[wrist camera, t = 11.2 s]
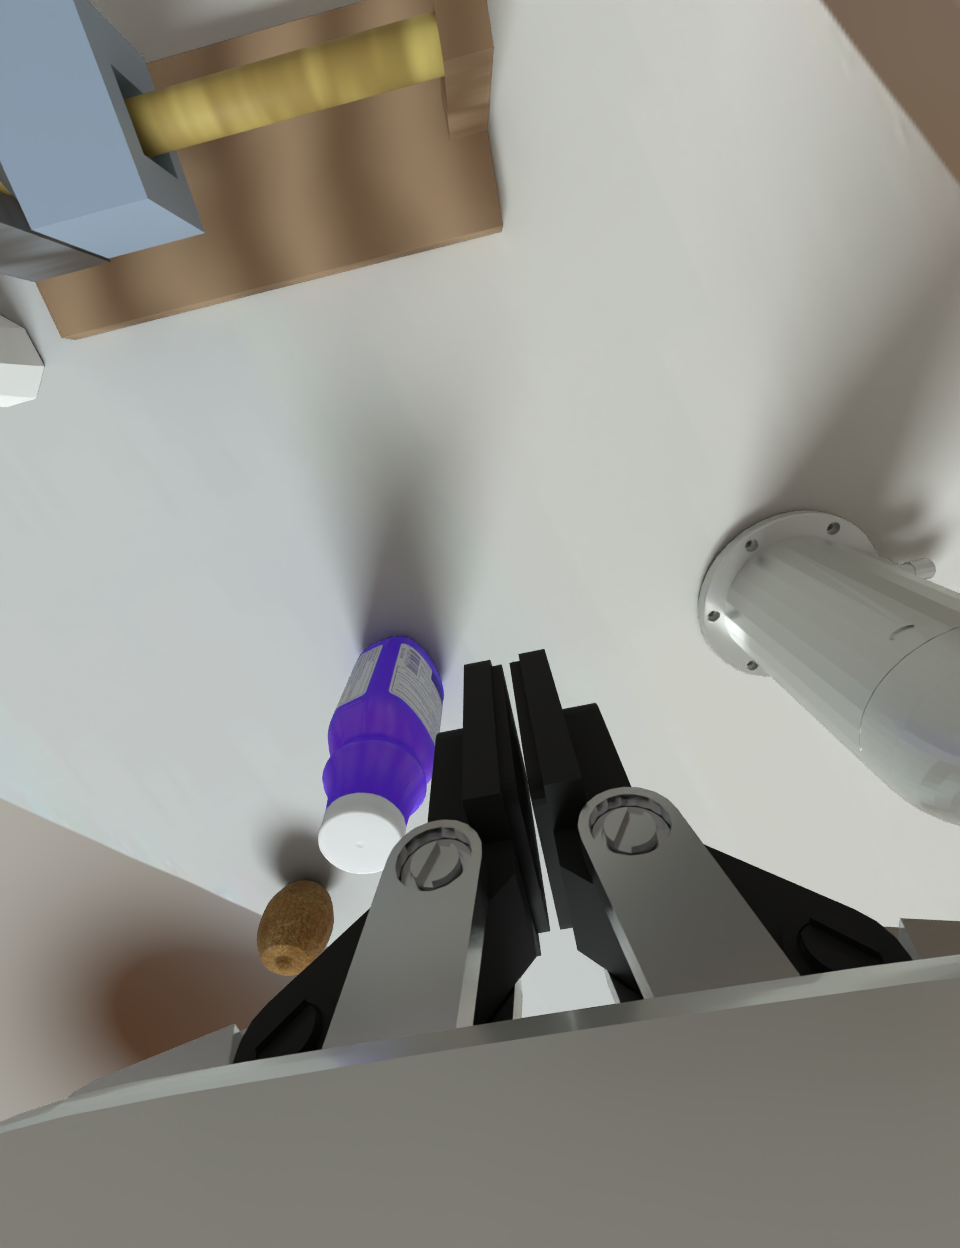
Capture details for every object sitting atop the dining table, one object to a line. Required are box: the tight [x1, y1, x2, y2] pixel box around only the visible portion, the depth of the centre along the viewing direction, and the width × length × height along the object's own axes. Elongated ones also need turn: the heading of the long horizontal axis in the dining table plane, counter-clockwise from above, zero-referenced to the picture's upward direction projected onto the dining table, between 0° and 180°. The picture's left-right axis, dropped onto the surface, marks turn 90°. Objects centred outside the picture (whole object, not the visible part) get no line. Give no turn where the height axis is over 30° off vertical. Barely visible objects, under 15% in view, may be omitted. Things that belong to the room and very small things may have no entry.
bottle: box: [318, 636, 444, 874], centre depth 33 cm, size 7×6×17 cm
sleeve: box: [0, 0, 205, 258], centre depth 22 cm, size 5×6×5 cm
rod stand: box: [0, 0, 503, 340], centre depth 25 cm, size 26×10×10 cm, turn 102°
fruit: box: [257, 880, 334, 975], centre depth 47 cm, size 6×6×8 cm
